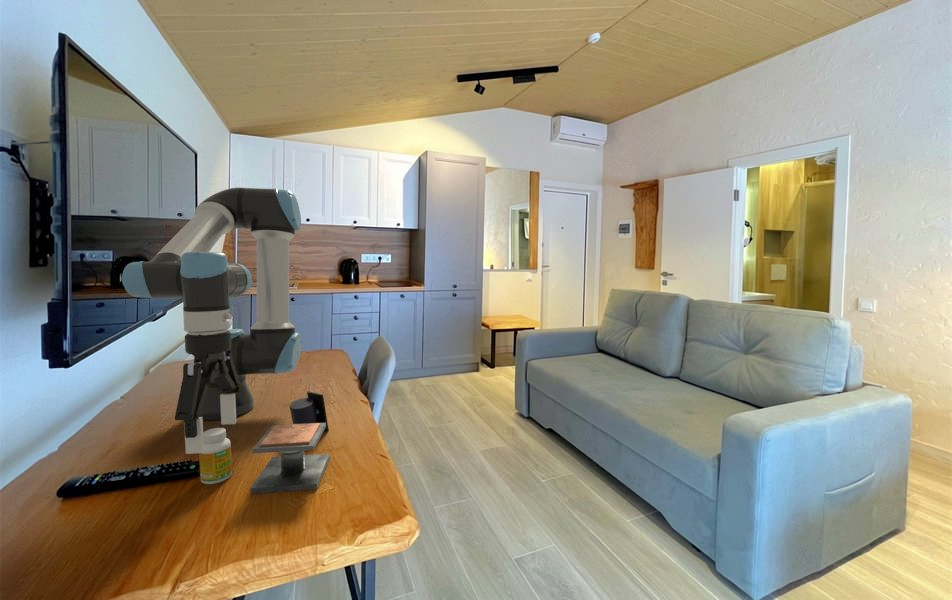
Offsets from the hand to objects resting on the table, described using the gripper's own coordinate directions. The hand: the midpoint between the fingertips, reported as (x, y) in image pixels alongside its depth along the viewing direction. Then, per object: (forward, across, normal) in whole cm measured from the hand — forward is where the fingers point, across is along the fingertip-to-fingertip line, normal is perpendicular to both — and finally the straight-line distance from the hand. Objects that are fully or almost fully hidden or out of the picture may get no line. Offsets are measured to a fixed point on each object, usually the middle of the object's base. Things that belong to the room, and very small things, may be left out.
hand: (213, 437), depth 80 cm
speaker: (+9, +20, -13) cm, 25 cm away
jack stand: (+9, 0, -15) cm, 17 cm away
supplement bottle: (+9, +1, 0) cm, 9 cm away
